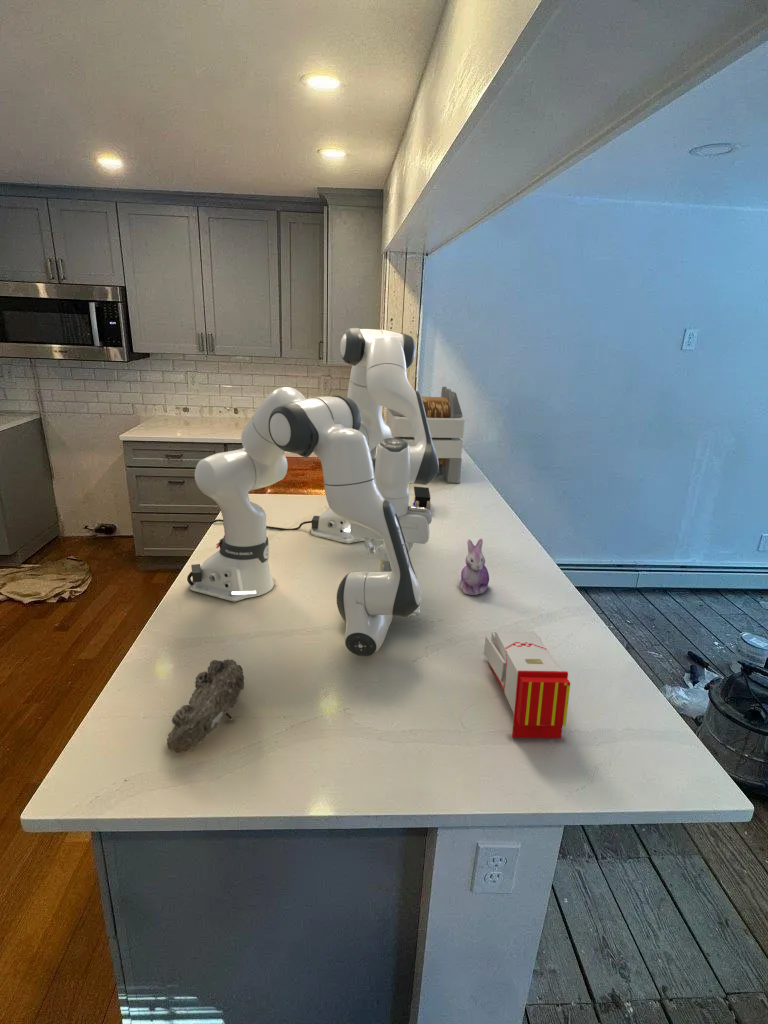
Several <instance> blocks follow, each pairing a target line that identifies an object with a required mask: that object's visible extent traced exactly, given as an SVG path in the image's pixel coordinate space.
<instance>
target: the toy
mask: <svg viewBox="0 0 768 1024" xmlns="http://www.w3.org/2000/svg"><path fill="white" fill-rule="evenodd" d="M541 639H542V638H541V637H540V635H538V634H537V633H536V631H535V630H510V629H509V630H506V629H505V630H504V629H501V630H499V629H495V630H494V631H491V637H490V636H489V635H487V636H485V639H484V640H485V641H484V649H483V650H484V651H483V656H484V658H486V660H487V663H488V664H489V666H490V668H491V670H492V672H493V674H494V676H495V678H496V680H497V682H498V683H499V685H500V687H501V689H502V691H503V692H504V693H503V694H504V695H505V698H506V699H507V702H508V704H509V706H510V708H511V710H512V712H513V722H512V734H511V737H512V739H562V734H563V733H562V732H563V727H566V726H567V716H568V708H569V699H570V690H571V681H570V680H569V678H568V677H569V672H568V671H565V670H562V669H561V667H560V666H559V664H558V663H557V661H556V660H555V658H554V657H553V656H552V654H551V653H550V652H549V650H548V648H547V647H546V646H545V644H544V643H543V641H542V640H541Z"/></svg>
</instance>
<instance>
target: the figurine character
mask: <svg viewBox="0 0 768 1024" xmlns="http://www.w3.org/2000/svg"><path fill="white" fill-rule="evenodd" d="M413 491H414V497H413V503H412V506H413V507H419V508H421V507H424V508H426V509H427V510H429V511H430V510H431V493H430V488H429V487H426V486H424V487H423V486H413Z"/></svg>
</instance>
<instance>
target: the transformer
mask: <svg viewBox="0 0 768 1024" xmlns="http://www.w3.org/2000/svg"><path fill="white" fill-rule="evenodd" d="M440 393H441V394H440V396H421V399H422V402H423V405H424V409H425V413H426V417H427V422H428V426H429V430H430V434H431V439H432V442H433V446H434V448H435V451H436V455H437V458H438V463H439V469H438V472H439V473H440V474H441V475H443V478H444V479H445V481H446V482H447V483H449V484H455V483H456V484H459V483H461V472H462V461H463V460H462V453H463V442H464V441H463V440H462V439H463V438H464V431H465V430H464V429H465V419H464V418H463V411H462V408H461V405H460V402H459V398H458V395H457V392H455V391H453V390H452V389H451V388H447V386H442V387H441V392H440ZM385 414H386V415H385V423H386V424H387V425H388V427H389V428H390V430H391V434H392V438H397V439H401V440H404V441H405V442H407V443H408V445H409V446H416V444H415V439H414V435H413V431H412V426H411V423H410V421H409V419H408V418H407V417H405V416H404V415H402V414H400V413H398V412H396V411H394V410H391V409H388V408H386V413H385Z"/></svg>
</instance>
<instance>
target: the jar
mask: <svg viewBox="0 0 768 1024" xmlns="http://www.w3.org/2000/svg"><path fill="white" fill-rule="evenodd" d="M377 560H378V561H377V563H378V564H377V572H391V571H392V568H391V565H390V561H383V560H380V559H379V558H378V557H377Z"/></svg>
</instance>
